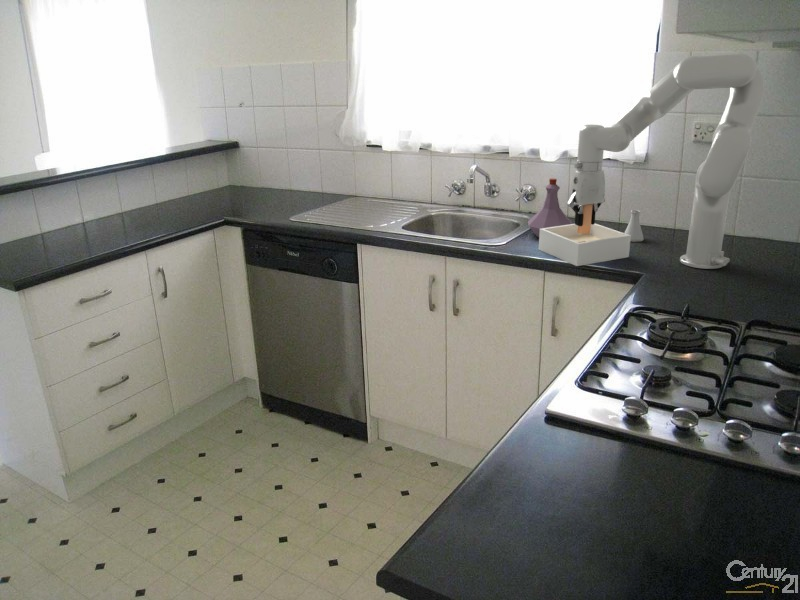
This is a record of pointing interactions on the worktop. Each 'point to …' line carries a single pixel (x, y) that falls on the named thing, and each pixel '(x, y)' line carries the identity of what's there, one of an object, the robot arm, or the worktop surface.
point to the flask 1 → (549, 211)
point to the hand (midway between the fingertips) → (584, 223)
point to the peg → (586, 220)
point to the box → (584, 244)
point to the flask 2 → (634, 227)
